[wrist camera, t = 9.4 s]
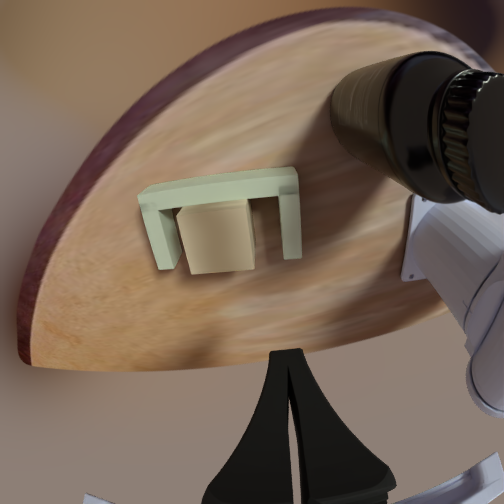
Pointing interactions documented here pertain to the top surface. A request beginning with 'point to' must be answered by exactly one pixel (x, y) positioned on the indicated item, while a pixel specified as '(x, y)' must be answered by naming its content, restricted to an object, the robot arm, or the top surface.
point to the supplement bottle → (427, 126)
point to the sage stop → (218, 190)
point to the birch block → (218, 236)
